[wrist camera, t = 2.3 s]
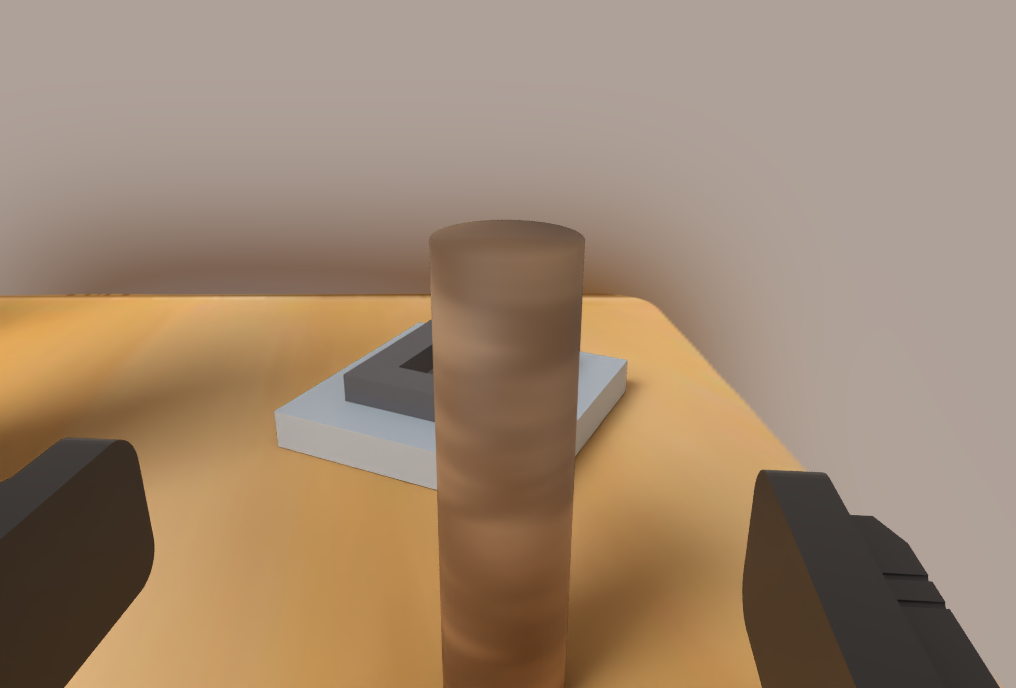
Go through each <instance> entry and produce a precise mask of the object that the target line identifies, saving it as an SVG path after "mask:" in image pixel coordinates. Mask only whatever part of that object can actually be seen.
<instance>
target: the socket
mask: <svg viewBox="0 0 1016 688" xmlns="http://www.w3.org/2000/svg"><path fill="white" fill-rule="evenodd" d="M626 375H627V360H624V359H618V358H613V357H607V356H602V355H596V354H591V353H585V352H580V359H579V381H578V404H577V426H576V448H575V456H576V455H577V454H578V452H579V451H580V450H581V449H582V447H583V446H584V445H585V443H586V442H587V441H588V439H589V438H590V437H591V435H592V434H593V433H594V432H595V430H596V429H597V428H598V426H599V425H600V424H601V422H602V421H603V420H604V419H605V417H606V416H607V415H608V413H609V412H610V411H611V409H612V408H613V407H614V405H615V404H616V403H617V402H618V400H619V399H620V398H621V396H622V395H623V394H624V392H625V389H626ZM274 414H275V422H276V431H277V439H278V446H279V447H282V448H286V449H290V450H293V451H297V452H301V453H304V454H308V455H311V456H315V457H319V458H322V459H326V460H330V461H333V462H337V463H341V464H344V465H348V466H351V467H355V468H359V469H362V470H366V471H370V472H373V473H377V474H380V475H384V476H388V477H391V478H395V479H399V480H402V481H406V482H410V483H413V484H417V485H420V486H424V487H428V488H431V489H435V490H437V471H436V439H435V407H434V375H433V343H432V320H430V321H428V322H427V323H420V322H419V323H417V324H416V325H414V326H413V327H411V328H409V329H408V330H406V331H404V332H403V333H401V334H400V335H398V336H396V337H395V338H393V339H391V340H390V341H388V342H386V343H385V344H383V345H382V346H380V347H378V348H377V349H375V350H373V351H372V352H370V353H369V354H367V355H365V356H364V357H362V358H360V359H359V360H357V361H355V362H354V363H352V364H351V365H349V366H347V367H346V368H344V369H342V370H341V371H339V372H338V373H336V374H334V375H333V376H331V377H329V378H328V379H326V380H324V381H323V382H321V383H320V384H318V385H316V386H315V387H313V388H311V389H310V390H308V391H307V392H305V393H303V394H302V395H300V396H298V397H297V398H295V399H293V400H292V401H290V402H289V403H287V404H285V405H284V406H282V407H280V408H279V409H277V410H276V411H274Z"/></svg>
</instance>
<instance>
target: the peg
mask: <svg viewBox="0 0 1016 688" xmlns="http://www.w3.org/2000/svg"><path fill="white" fill-rule="evenodd" d="M429 246H430V276H431V277H430V278H431V311H432V343H433V375H434V407H435V439H436V471H437V502H438V534H439V566H440V598H441V630H442V661H443V688H565V668H566V646H567V624H568V602H569V580H570V558H571V536H572V514H573V492H574V470H575V448H576V426H577V404H578V381H579V359H580V337H581V315H582V293H583V271H584V249H585V239H584V237H583V236H582V235H581V234H580V233H579V232H577V231H575V230H572V229H570V228H567V227H563V226H559V225H555V224H549V223H543V222H535V221H523V220H487V221H476V222H467V223H462V224H456V225H452V226H448V227H445V228H442V229H440V230H438V231H436V232H434V233H433V234H432V235H431V236H430V239H429Z"/></svg>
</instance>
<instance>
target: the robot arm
mask: <svg viewBox="0 0 1016 688" xmlns="http://www.w3.org/2000/svg"><path fill="white" fill-rule="evenodd" d="M153 560H154V538H153V532H152V527H151V522H150V517H149V512H148V507H147V502H146V497H145V491H144V486H143V481H142V476H141V471H140V466H139V461H138V457H137V454H136V451H135V449H134V448H133V446H132V445H131V444H130V443H129V442H127V441H125V440H115V439H93V438H64V439H62V440H60V441H58V442H57V443H56V444H54V445H53V446H52V447H50V448H49V449H48V450H47V451H45V452H44V453H43V454H41V455H40V456H39V457H37V458H36V459H35V460H34V461H32V462H31V463H30V464H28V465H27V466H26V467H25V468H23V469H22V470H21V471H19V472H18V473H17V474H15V475H14V476H13V477H11V478H9V479H7V480H5V481H3V482H1V483H0V688H64V687H65V686H66V685H67V683H68V682H69V681H70V680H71V678H72V677H73V676H74V675H75V673H76V672H77V671H78V670H79V668H80V667H81V666H82V665H83V663H84V662H85V661H86V660H87V658H88V657H89V656H90V655H91V653H92V652H93V651H94V650H95V648H96V647H97V646H98V645H99V643H100V642H101V641H102V640H103V638H104V637H105V636H106V635H107V633H108V632H109V631H110V629H111V628H112V627H113V626H114V624H115V623H116V622H117V621H118V619H119V618H120V617H121V616H122V614H123V613H124V612H125V611H126V609H127V608H128V607H129V606H130V604H131V603H132V602H133V601H134V599H135V598H136V597H137V596H138V594H139V593H140V592H141V590H142V589H143V588H144V586H145V584H146V582H147V580H148V578H149V575H150V572H151V569H152V565H153ZM742 595H743V612H744V620H745V625H746V630H747V633H748V637H749V641H750V644H751V648H752V652H753V655H754V659H755V663H756V666H757V670H758V674H759V677H760V681H761V685H762V688H1000V687H999V686H998V684H997V683H996V681H995V679H994V678H993V676H992V675H991V673H990V672H989V670H988V668H987V667H986V665H985V664H984V662H983V661H982V659H981V657H980V656H979V654H978V653H977V651H976V650H975V648H974V647H973V645H972V644H971V642H970V640H969V639H968V637H967V636H966V634H965V632H964V631H963V629H962V628H961V626H960V625H959V623H958V622H957V620H956V618H955V617H954V615H953V613H952V612H951V610H950V609H946V607H945V601H944V599H943V598H942V596H941V595H940V593H939V591H938V590H937V589H936V587H935V585H934V584H933V582H930V581H928V574H927V573H926V571H925V569H924V568H923V566H922V565H921V563H920V562H919V560H918V559H917V557H916V555H915V554H914V552H913V551H912V549H911V548H910V546H909V544H908V543H907V542H905V541H904V540H903V539H901V538H900V537H899V536H898V535H896V534H895V533H894V532H892V531H891V530H890V529H889V528H887V527H886V526H885V525H883V524H882V523H881V522H880V521H878V520H877V519H876V518H874V517H873V516H859V515H850V514H849V512H848V511H847V509H846V507H845V505H844V504H843V502H842V500H841V498H840V496H839V495H838V493H837V491H836V489H835V487H834V485H833V484H832V482H831V480H830V478H829V477H828V476H827V474H825V473H822V472H801V471H779V470H761V471H760V472H759V474H758V476H757V479H756V483H755V489H754V496H753V504H752V511H751V519H750V527H749V534H748V542H747V550H746V557H745V565H744V573H743V588H742Z"/></svg>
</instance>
